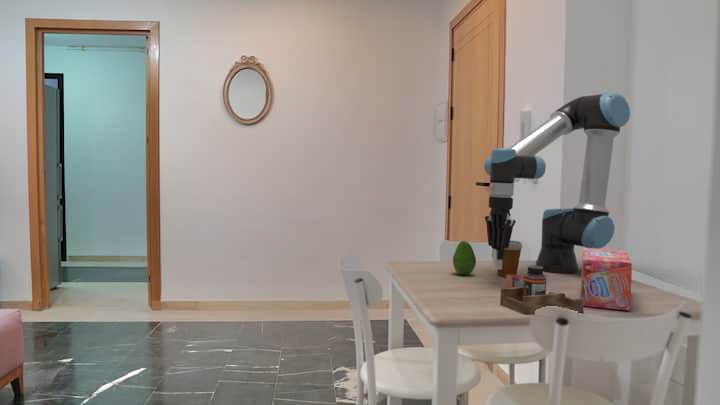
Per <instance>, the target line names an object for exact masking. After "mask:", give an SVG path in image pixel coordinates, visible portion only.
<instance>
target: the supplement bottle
mask: <svg viewBox="0 0 720 405" xmlns="http://www.w3.org/2000/svg"><path fill="white" fill-rule="evenodd" d="M543 272H544V271H543V267H541V266H536V265H528V266H527V272H526V273H525V274H523V281H524V285H523V296H532V295H543V294H547V276H546V275H545V274H544V273H543Z"/></svg>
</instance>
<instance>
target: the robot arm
mask: <svg viewBox="0 0 720 405" xmlns="http://www.w3.org/2000/svg"><path fill="white" fill-rule="evenodd" d="M630 110H631V109H630V105H629V103H628V101H627V100H626V98H625V97H624V95H623V94H620V93H617V92H615V93H613V92H610V93H608V92H604V93H601V94H600V93H599V94H594V95H584V96H579V97H576V98H574V99H573V100H570V101H569V102H567V103H565V104H564V105H562V106H561V107H559V108H558V109H556V110H555V111H554V112H552V113H551V114H550V116H549V118H548V119H547V120H546V121H544V122H543V123H542V124H540V125H539V126H538V127H536V128H534V129H533V130H532V131H530V132H529V133H527V134H526V135H525V136H523V137H522V138H520V139H519V140H518V141H516V142H515V143H514V144H512V145H510V147H497V148H493V149H492V151H491V156H489V157H488V158H486V160H485V162H484V171H485V173H486V174H487V175H488V176H489V193H488V194H489V197H488V208H489V209H490V211H489V215H485V216H484V220H485V223H486V231H487V232H486V234H487V243H488V246H490V247H491V248H492V254H491V257H492V263H491V265H492V266H491V269H492V270H495V271H498V269H502V260H503V252H504V249H506V248H508V247H509V243H510V241H511V238H512V233H513V229H514V226H515V224H516V219H512V217H511V212H510V210H511V209H512V210H513V207H514V206H513V205H514V204H513V203H514V199H513V196H514V195H515V194H514V189H515V179H522V180H523V179H524V180H527V179H528V180H536V179H540V178H542V177H543V176H544V175H545V173H546V167H547V166H546V165H547V164H546V162H545V160H544V159H543V158H542V157H541V156H536V155H537V154H538V153H540V152H541V151H542V150H544V149H546V148H547V147H549V145H551V144H552V143H553V142H555V141H556V140H558V139H559V138H560V137H562V136H566V135H567V136H568V135H569V134H570V133H572V132H575V131H577V130H581V129H583V132H584V134H585V135H586V137H587V138H586V139H587V140H586V144H585V145H586V146H585V153H584V161H583V167H582V168H583V169H582V174H581V175H582V176H581V184H580V191H579V199H578V203H577V204H576V205H575V206H573V207H572V208H568V207H567V208H551V209H550V208H549V209H546V210H544V211H543V214H542V219H541V221H542V222H541V247H540V250H539V253H538V256H537V259H536V261H535V266H541V267H543V272H547V273H548V272H549V273H558V274H574V273H577V272H579V264H578V261H577V256H576V252H575V246H577V247H583V248H591V249H602V248H604V247H606V246H607V245H608V244H609V243H610V242H611V241H612V239H613V237H614V233H615V223H614V221H613V219H612V218H611V217H610V211H609V209H608V208H607V206H606V201H607V194H608V193H607V192H608V186H609V185H608V184H609V179H610V178H609V176H610V171H611V169H610V168H611V163H612V154H613V150H614V149H613V148H614V141H615V140H614V139H615V137H617V136H618V135H619V134H620V130H621V128H622V127H623V126H625V125H627V123H628V122H629V119H630V115H631V114H630V113H631V112H630Z"/></svg>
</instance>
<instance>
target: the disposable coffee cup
mask: <svg viewBox="0 0 720 405" xmlns="http://www.w3.org/2000/svg"><path fill="white" fill-rule="evenodd" d="M522 249H523V244H522V242H521V241H517V240H510V243H509V247H508V248H506V249H504V252H503V260H502V269H498V270H497V276H498V277H502V278H506V274H515V275H518V269H519V263H520V258H521V252H522Z"/></svg>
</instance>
